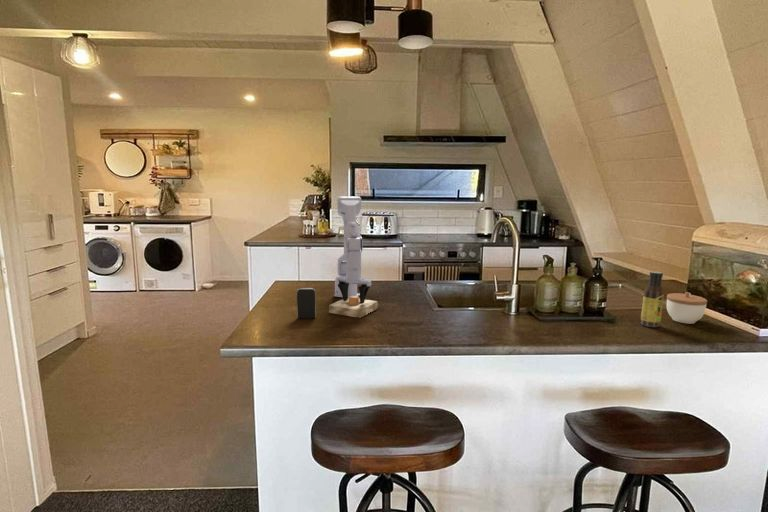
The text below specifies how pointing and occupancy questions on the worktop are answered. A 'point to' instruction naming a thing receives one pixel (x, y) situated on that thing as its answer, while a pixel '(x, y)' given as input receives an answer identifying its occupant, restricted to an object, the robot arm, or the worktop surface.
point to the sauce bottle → (652, 301)
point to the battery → (306, 303)
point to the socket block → (353, 308)
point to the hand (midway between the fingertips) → (353, 301)
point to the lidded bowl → (685, 307)
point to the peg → (354, 300)
